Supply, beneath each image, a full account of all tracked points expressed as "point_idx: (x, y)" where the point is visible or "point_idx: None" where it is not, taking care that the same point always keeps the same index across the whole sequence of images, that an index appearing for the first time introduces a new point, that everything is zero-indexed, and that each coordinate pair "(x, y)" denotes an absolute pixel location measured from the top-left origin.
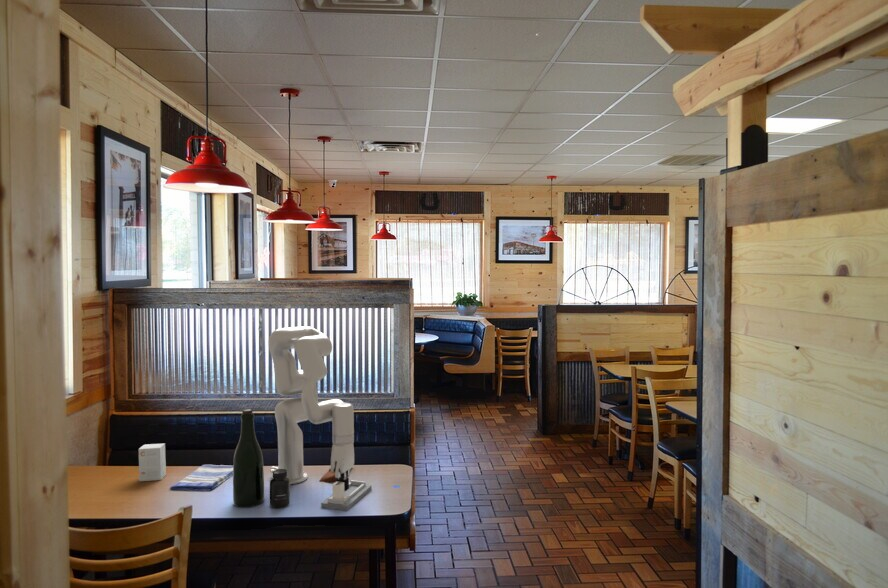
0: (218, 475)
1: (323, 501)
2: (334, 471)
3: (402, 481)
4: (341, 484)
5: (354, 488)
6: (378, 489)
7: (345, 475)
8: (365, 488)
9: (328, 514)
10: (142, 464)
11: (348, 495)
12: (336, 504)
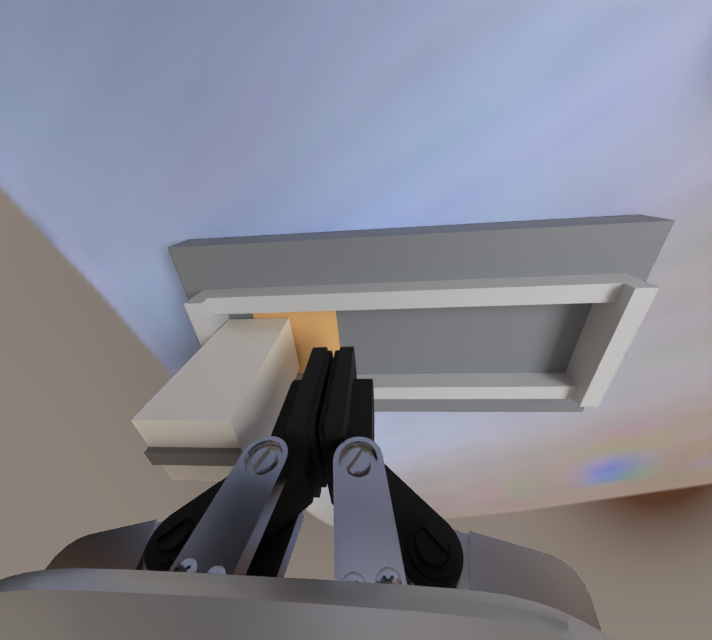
0: None
1: (200, 249)
2: (94, 580)
3: (688, 476)
4: (197, 480)
5: (511, 342)
6: (562, 420)
7: (272, 555)
8: (518, 400)
9: (150, 333)
10: None
11: None
12: None
